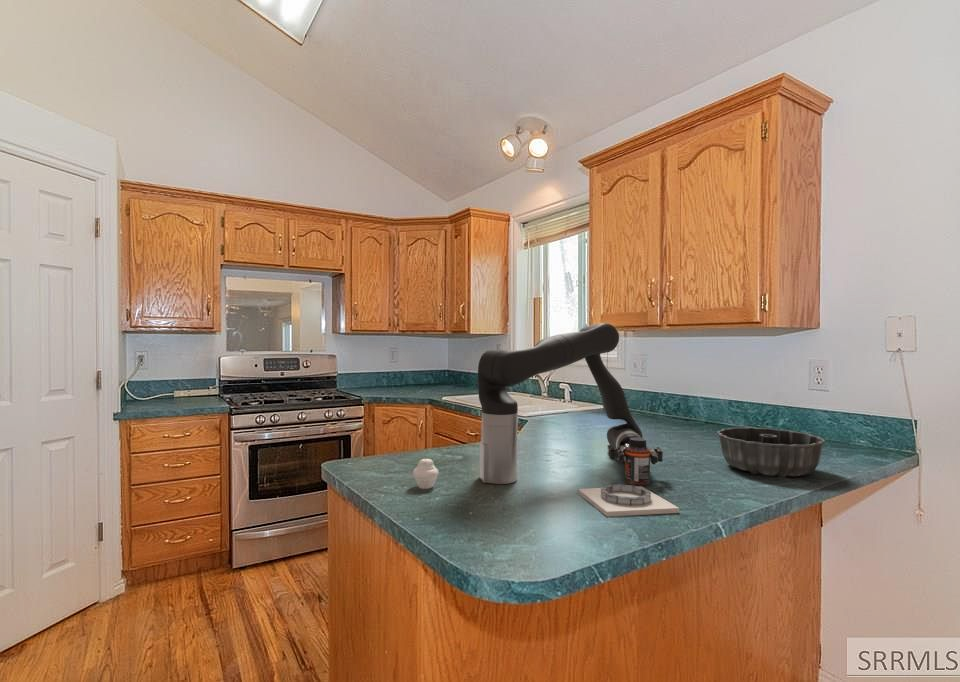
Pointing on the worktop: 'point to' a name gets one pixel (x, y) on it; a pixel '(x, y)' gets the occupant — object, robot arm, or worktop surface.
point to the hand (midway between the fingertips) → (638, 459)
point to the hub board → (612, 509)
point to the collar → (628, 501)
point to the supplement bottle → (637, 462)
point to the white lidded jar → (425, 474)
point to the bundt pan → (771, 451)
